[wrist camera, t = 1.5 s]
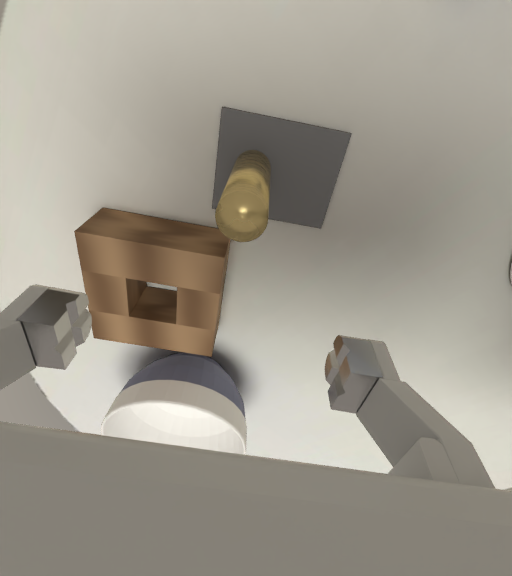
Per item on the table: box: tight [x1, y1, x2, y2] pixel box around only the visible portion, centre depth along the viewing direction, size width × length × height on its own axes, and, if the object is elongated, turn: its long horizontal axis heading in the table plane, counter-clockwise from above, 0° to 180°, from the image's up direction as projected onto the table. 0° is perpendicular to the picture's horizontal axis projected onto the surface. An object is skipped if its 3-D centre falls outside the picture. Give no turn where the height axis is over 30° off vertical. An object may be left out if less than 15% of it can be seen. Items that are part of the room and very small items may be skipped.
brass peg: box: [215, 150, 271, 242], centre depth 22 cm, size 3×3×10 cm
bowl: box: [101, 352, 247, 455], centre depth 38 cm, size 16×16×10 cm
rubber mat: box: [212, 107, 351, 229], centre depth 26 cm, size 10×8×1 cm
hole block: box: [74, 208, 231, 357], centre depth 31 cm, size 12×12×5 cm
